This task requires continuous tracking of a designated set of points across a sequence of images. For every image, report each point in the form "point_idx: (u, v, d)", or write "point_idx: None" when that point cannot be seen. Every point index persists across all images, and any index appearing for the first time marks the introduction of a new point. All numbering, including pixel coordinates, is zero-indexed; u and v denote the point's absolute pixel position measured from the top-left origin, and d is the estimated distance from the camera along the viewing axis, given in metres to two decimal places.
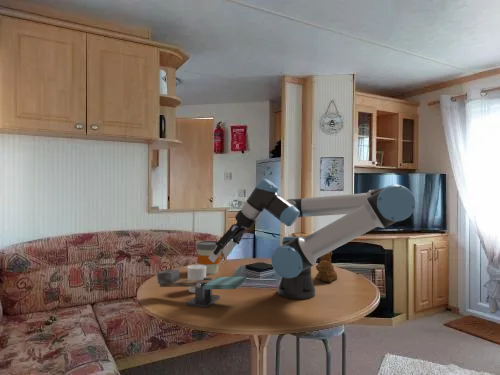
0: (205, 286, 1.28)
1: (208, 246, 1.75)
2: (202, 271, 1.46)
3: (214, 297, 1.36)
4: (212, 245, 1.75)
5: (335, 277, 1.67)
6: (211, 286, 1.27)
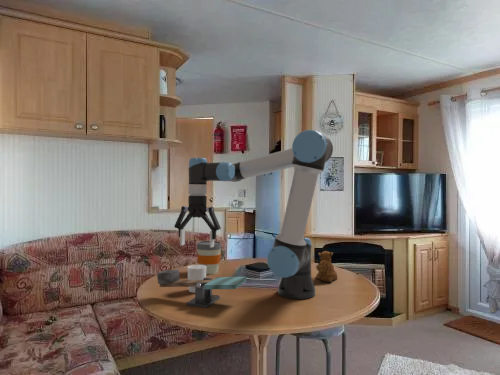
0: (205, 286, 1.28)
1: (208, 246, 1.75)
2: (202, 271, 1.46)
3: (214, 297, 1.36)
4: None
5: (335, 277, 1.67)
6: (211, 286, 1.27)
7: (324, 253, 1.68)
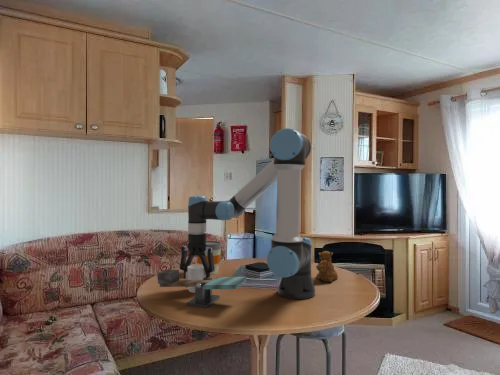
0: (205, 286, 1.28)
1: (208, 246, 1.75)
2: (202, 271, 1.46)
3: (214, 297, 1.36)
4: (212, 245, 1.75)
5: (335, 277, 1.67)
6: (211, 286, 1.27)
7: (324, 253, 1.68)
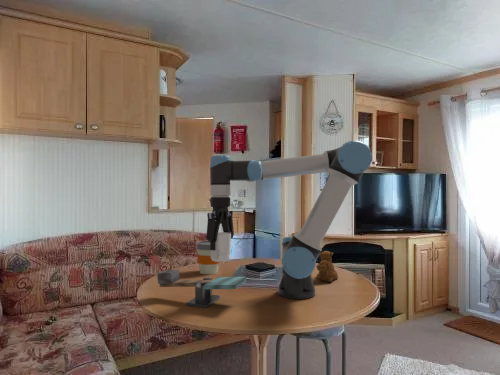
0: (205, 286, 1.28)
1: (208, 246, 1.75)
2: None
3: (214, 297, 1.36)
4: None
5: (336, 277, 1.67)
6: (211, 286, 1.27)
7: (324, 253, 1.68)
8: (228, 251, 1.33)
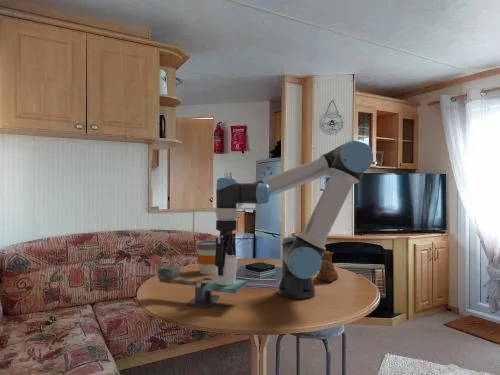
0: (205, 287, 1.28)
1: (208, 246, 1.75)
2: None
3: (214, 297, 1.36)
4: (212, 245, 1.75)
5: (336, 277, 1.67)
6: (211, 288, 1.27)
7: (325, 253, 1.69)
8: (235, 274, 1.30)
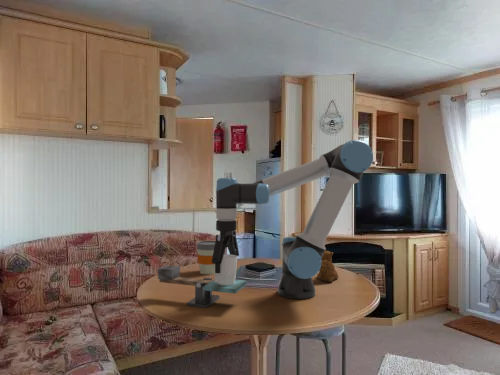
0: (205, 287, 1.28)
1: (208, 246, 1.75)
2: None
3: (214, 297, 1.36)
4: (212, 245, 1.75)
5: (336, 277, 1.67)
6: (211, 288, 1.27)
7: (325, 253, 1.69)
8: (235, 274, 1.30)
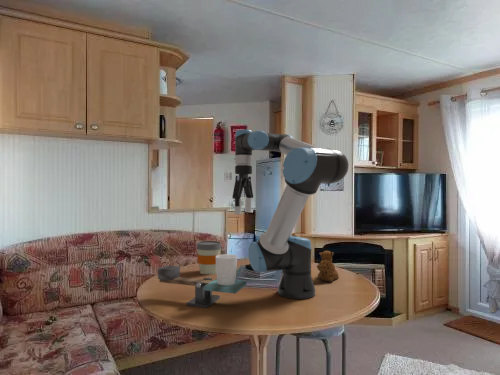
0: (205, 287, 1.28)
1: (208, 246, 1.75)
2: None
3: (214, 297, 1.36)
4: (212, 245, 1.75)
5: (336, 277, 1.67)
6: (211, 288, 1.27)
7: (325, 253, 1.69)
8: (235, 274, 1.30)
